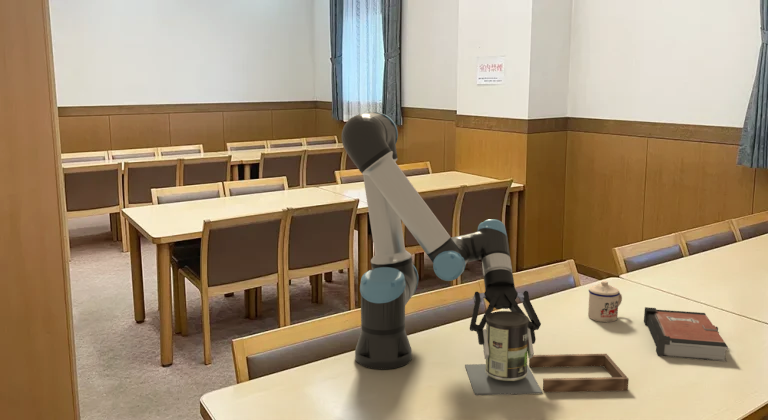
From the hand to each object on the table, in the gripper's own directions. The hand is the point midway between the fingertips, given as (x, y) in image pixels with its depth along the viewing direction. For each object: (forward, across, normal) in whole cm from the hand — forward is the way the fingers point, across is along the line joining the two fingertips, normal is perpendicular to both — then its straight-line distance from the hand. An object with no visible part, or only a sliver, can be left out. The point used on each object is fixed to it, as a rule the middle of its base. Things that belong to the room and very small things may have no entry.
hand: (509, 356), depth 156 cm
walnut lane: (+3, -17, -7) cm, 19 cm away
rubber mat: (+3, +1, -7) cm, 8 cm away
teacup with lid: (-26, -40, -37) cm, 61 cm away
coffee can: (+2, 0, -6) cm, 6 cm away
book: (-12, -55, -24) cm, 61 cm away
